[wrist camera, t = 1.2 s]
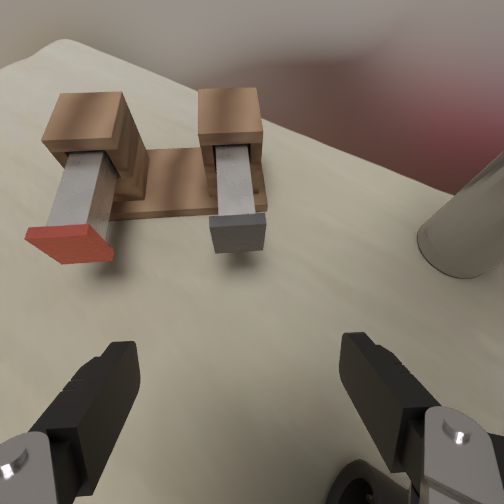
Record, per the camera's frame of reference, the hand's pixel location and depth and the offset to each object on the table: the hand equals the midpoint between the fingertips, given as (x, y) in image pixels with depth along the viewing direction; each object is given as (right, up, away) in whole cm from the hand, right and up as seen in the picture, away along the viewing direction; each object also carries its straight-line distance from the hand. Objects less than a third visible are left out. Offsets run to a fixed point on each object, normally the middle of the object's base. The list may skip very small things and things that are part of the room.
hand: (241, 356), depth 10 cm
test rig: (-10, +14, +29) cm, 34 cm away
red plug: (-18, +10, +21) cm, 29 cm away
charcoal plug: (-2, +11, +22) cm, 24 cm away
